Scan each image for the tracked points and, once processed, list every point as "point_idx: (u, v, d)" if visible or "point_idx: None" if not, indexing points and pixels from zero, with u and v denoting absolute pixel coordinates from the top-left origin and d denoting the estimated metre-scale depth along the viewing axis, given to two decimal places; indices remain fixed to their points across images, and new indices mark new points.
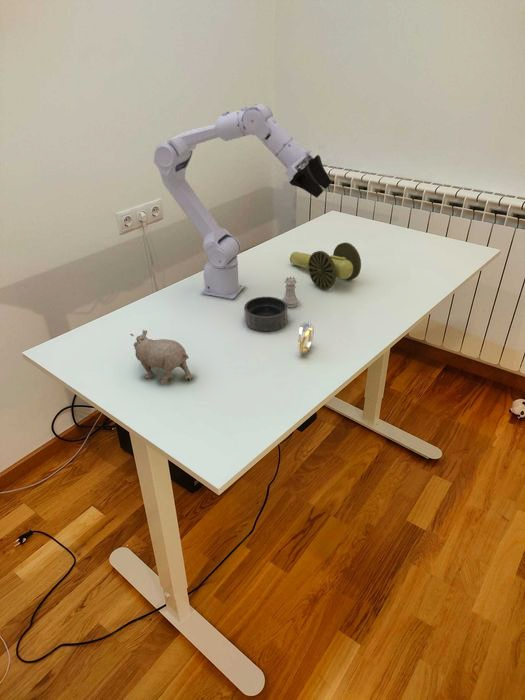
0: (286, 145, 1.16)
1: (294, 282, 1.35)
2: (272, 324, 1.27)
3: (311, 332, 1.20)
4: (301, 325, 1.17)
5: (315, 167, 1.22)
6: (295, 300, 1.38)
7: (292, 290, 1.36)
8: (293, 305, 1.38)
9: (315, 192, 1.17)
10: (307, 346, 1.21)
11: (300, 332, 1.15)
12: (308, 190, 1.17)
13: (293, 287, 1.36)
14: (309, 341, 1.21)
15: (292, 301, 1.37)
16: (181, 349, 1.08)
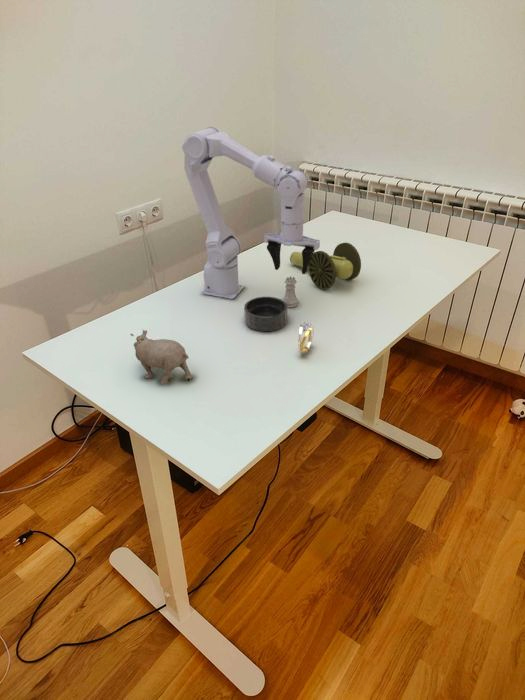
0: (281, 223, 1.26)
1: (294, 282, 1.35)
2: (272, 324, 1.27)
3: (311, 332, 1.20)
4: (301, 325, 1.17)
5: None
6: (295, 300, 1.38)
7: (292, 290, 1.36)
8: (293, 305, 1.38)
9: None
10: (307, 346, 1.21)
11: (300, 332, 1.15)
12: None
13: (293, 287, 1.36)
14: (309, 341, 1.21)
15: (292, 301, 1.37)
16: (181, 349, 1.08)
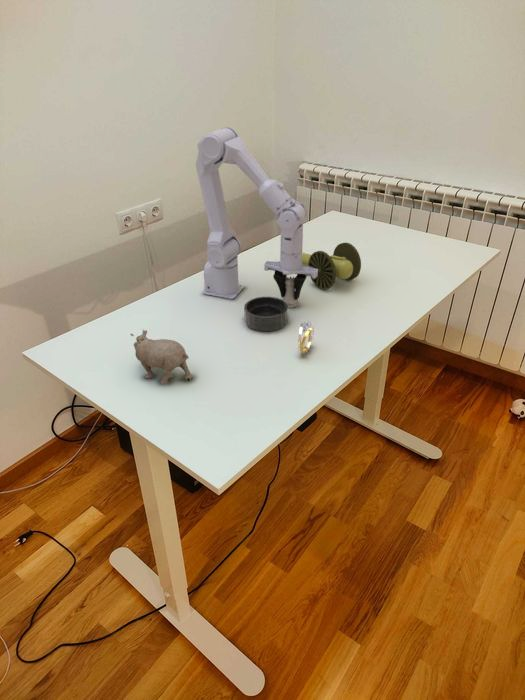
0: (280, 252, 1.30)
1: None
2: (272, 324, 1.27)
3: (311, 332, 1.20)
4: (301, 325, 1.17)
5: None
6: (295, 300, 1.38)
7: (292, 290, 1.36)
8: (293, 305, 1.38)
9: None
10: (307, 346, 1.21)
11: (300, 332, 1.15)
12: None
13: (293, 287, 1.36)
14: (309, 341, 1.21)
15: (292, 301, 1.37)
16: (181, 349, 1.08)
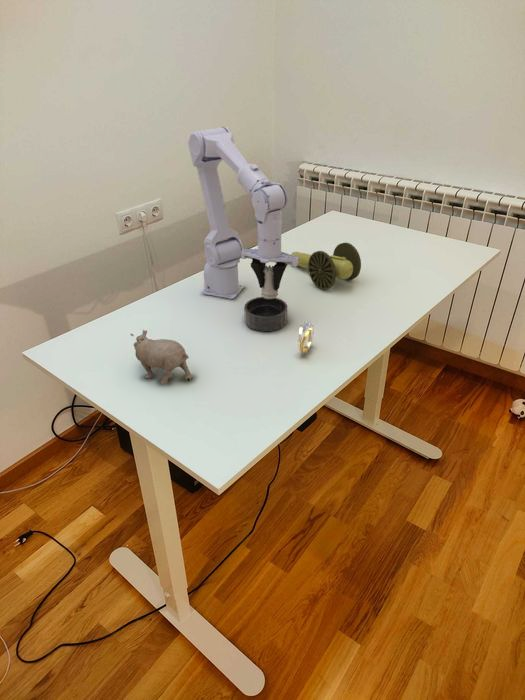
0: (258, 239, 1.20)
1: None
2: (272, 324, 1.27)
3: (311, 332, 1.20)
4: (301, 325, 1.17)
5: None
6: (275, 291, 1.27)
7: (272, 280, 1.26)
8: (273, 296, 1.28)
9: None
10: (307, 346, 1.21)
11: (300, 332, 1.15)
12: None
13: (272, 277, 1.26)
14: (309, 341, 1.21)
15: (271, 292, 1.27)
16: (181, 349, 1.08)
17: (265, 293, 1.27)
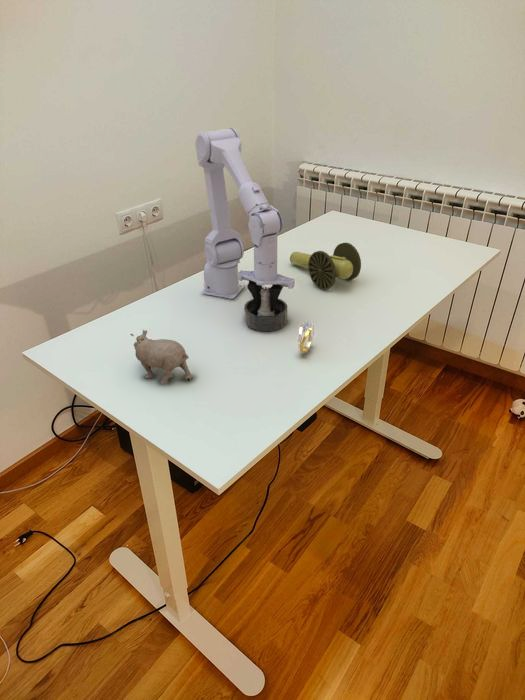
0: (254, 261, 1.22)
1: None
2: (272, 324, 1.27)
3: (311, 332, 1.20)
4: (301, 325, 1.17)
5: None
6: (271, 312, 1.29)
7: (268, 301, 1.28)
8: None
9: None
10: (307, 346, 1.21)
11: (300, 332, 1.15)
12: None
13: (268, 298, 1.28)
14: (309, 341, 1.21)
15: (267, 313, 1.29)
16: (181, 349, 1.08)
17: (261, 314, 1.29)
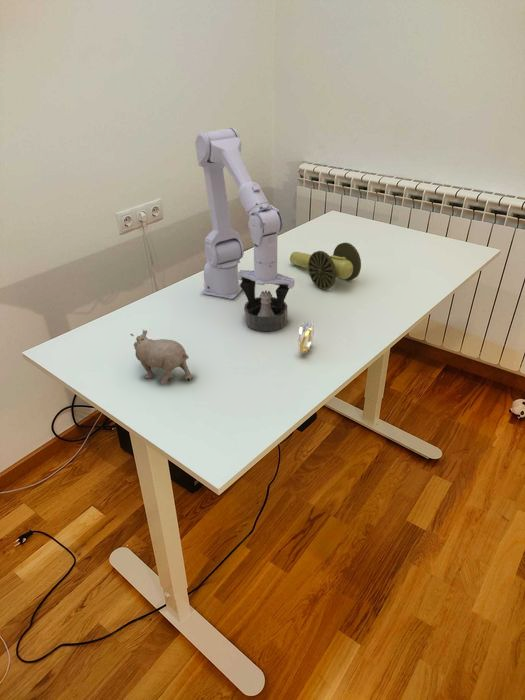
0: (254, 261, 1.22)
1: (269, 296, 1.27)
2: (272, 324, 1.27)
3: (311, 332, 1.20)
4: (301, 325, 1.17)
5: None
6: (271, 315, 1.30)
7: (268, 305, 1.28)
8: None
9: None
10: (307, 346, 1.21)
11: (300, 332, 1.15)
12: None
13: (268, 302, 1.28)
14: (309, 341, 1.21)
15: (267, 316, 1.29)
16: (181, 349, 1.08)
17: None
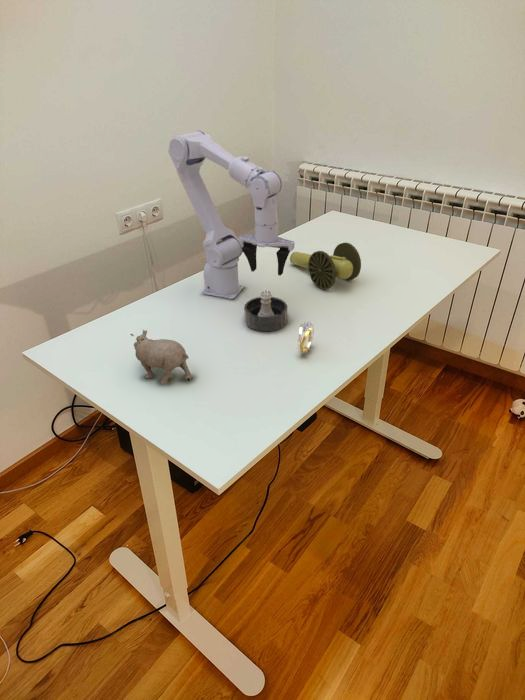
0: (255, 224, 1.25)
1: (269, 296, 1.27)
2: (272, 324, 1.27)
3: (311, 332, 1.20)
4: (301, 325, 1.17)
5: None
6: (271, 315, 1.30)
7: (268, 305, 1.28)
8: None
9: None
10: (307, 346, 1.21)
11: (300, 332, 1.15)
12: None
13: (268, 302, 1.28)
14: (309, 341, 1.21)
15: (267, 316, 1.29)
16: (181, 349, 1.08)
17: None
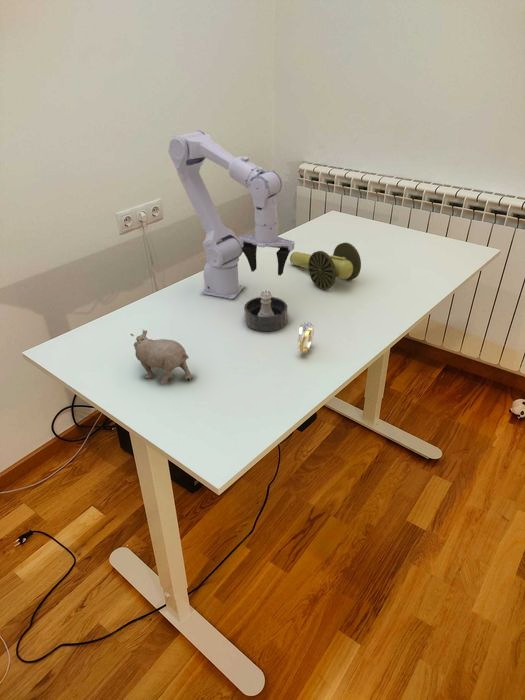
0: (255, 224, 1.25)
1: (269, 296, 1.27)
2: (272, 324, 1.27)
3: (311, 332, 1.20)
4: (301, 325, 1.17)
5: None
6: (271, 315, 1.30)
7: (268, 305, 1.28)
8: None
9: None
10: (307, 346, 1.21)
11: (300, 332, 1.15)
12: None
13: (268, 302, 1.28)
14: (309, 341, 1.21)
15: (267, 316, 1.29)
16: (181, 349, 1.08)
17: None
